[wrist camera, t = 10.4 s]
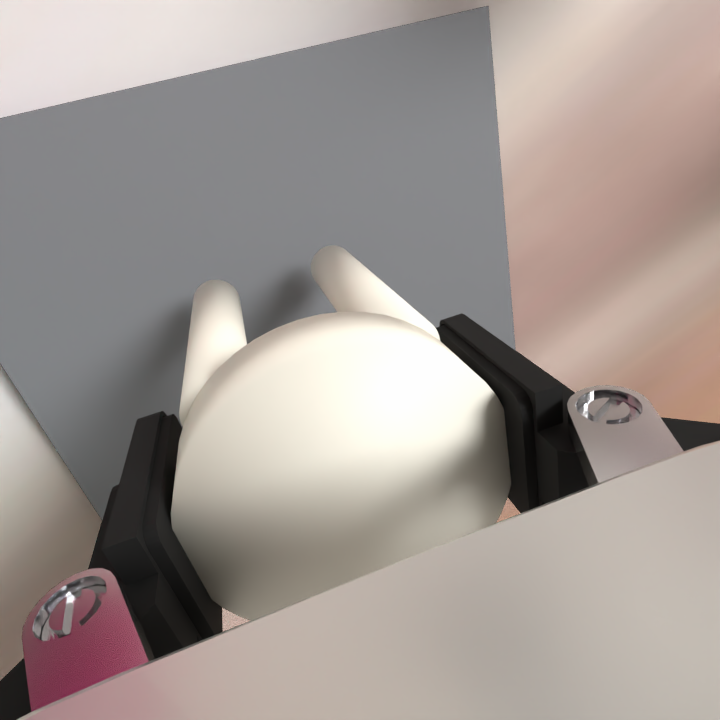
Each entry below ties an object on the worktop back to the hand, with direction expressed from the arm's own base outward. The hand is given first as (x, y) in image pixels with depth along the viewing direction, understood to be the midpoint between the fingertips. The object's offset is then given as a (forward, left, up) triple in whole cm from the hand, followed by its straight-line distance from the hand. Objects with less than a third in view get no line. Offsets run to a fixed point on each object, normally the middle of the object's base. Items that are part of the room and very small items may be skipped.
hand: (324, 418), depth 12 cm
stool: (0, 0, -5) cm, 5 cm away
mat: (0, 0, -7) cm, 7 cm away
